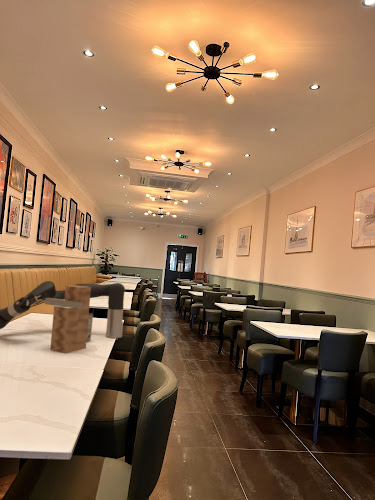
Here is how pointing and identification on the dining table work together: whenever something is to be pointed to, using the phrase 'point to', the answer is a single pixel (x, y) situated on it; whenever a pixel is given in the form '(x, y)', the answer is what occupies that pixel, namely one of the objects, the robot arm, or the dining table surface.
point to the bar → (64, 303)
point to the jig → (71, 321)
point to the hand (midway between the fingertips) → (40, 294)
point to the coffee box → (89, 327)
